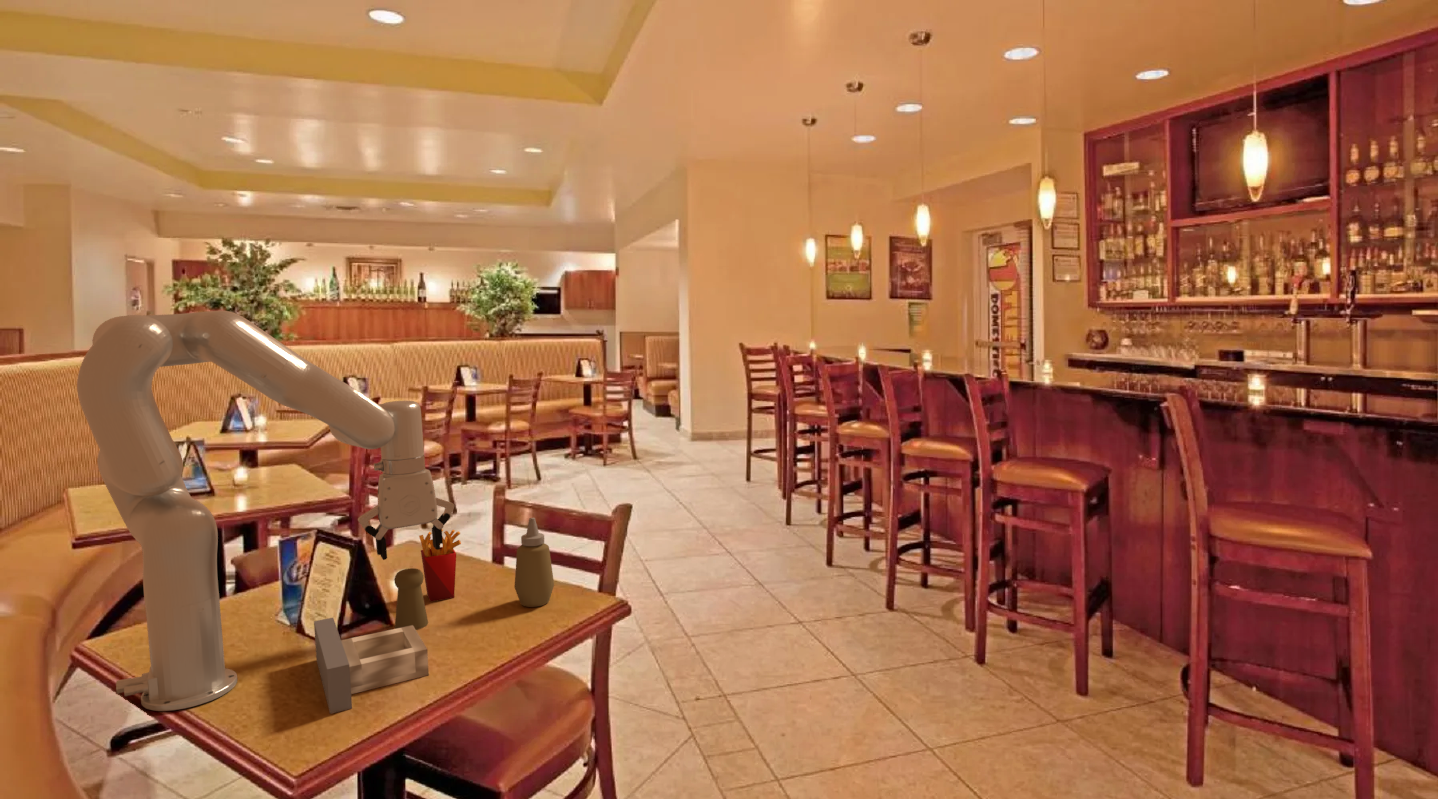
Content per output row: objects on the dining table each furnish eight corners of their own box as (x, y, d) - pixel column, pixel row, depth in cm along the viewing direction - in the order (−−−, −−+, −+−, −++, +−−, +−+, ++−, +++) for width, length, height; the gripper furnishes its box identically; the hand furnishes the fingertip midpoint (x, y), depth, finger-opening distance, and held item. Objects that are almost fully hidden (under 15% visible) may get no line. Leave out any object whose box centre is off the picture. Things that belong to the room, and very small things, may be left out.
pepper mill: (416, 632, 144) (413, 576, 143) (388, 630, 145) (384, 574, 144) (434, 620, 150) (431, 566, 149) (406, 618, 151) (404, 564, 150)
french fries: (421, 594, 164) (418, 526, 163) (461, 587, 168) (458, 521, 167) (427, 607, 157) (423, 536, 155) (468, 600, 160) (465, 531, 159)
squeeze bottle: (537, 593, 164) (534, 511, 162) (562, 600, 160) (560, 517, 158) (506, 604, 158) (503, 519, 156) (532, 612, 153) (529, 525, 151)
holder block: (349, 694, 120) (347, 667, 120) (340, 666, 130) (338, 640, 130) (428, 675, 126) (427, 649, 126) (414, 649, 136) (412, 625, 136)
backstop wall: (330, 713, 114) (327, 669, 113) (316, 659, 133) (313, 621, 132) (352, 708, 116) (349, 664, 115) (335, 655, 134) (333, 617, 133)
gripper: (356, 475, 137) (364, 567, 139) (455, 463, 146) (461, 549, 148) (351, 468, 143) (358, 556, 145) (446, 457, 152) (452, 539, 154)
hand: (410, 552), depth 146 cm, fingers open, 9 cm apart
